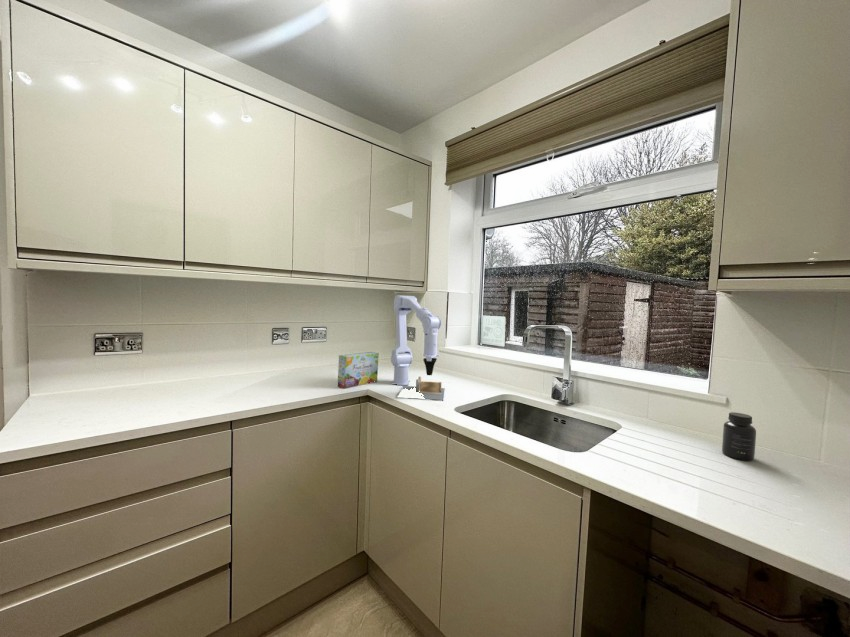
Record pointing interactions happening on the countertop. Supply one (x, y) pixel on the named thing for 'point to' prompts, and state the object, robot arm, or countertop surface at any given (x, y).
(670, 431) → the countertop surface
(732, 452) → the supplement bottle
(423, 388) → the hinged fence section
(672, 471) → the countertop surface
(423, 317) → the robot arm
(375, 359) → the snack box
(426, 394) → the board
